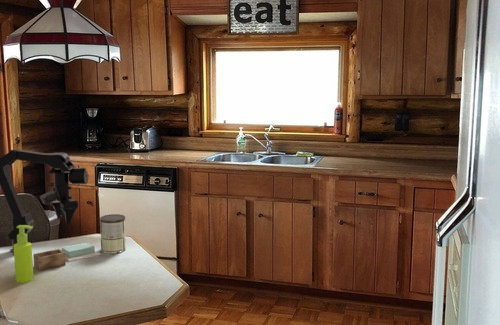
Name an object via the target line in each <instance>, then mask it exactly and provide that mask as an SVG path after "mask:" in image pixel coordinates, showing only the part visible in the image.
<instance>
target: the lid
mask: <svg viewBox="0 0 500 325" xmlns="http://www.w3.org/2000/svg"><path fill="white" fill-rule="evenodd" d="M61 250H62V251H63V252H65V254H66V255H67V256H69V258H72V257H77V256H81V255H86V254H91V253H95V251H96V250H95V246H94V245H93V244H91V243H89V242H82V243H78V244H73V245H68V246H67V245H66V246H62V247H61Z"/></svg>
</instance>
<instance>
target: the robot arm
mask: <svg viewBox="0 0 500 325" xmlns="http://www.w3.org/2000/svg"><path fill="white" fill-rule="evenodd" d="M70 159H71V158H70V155H68V153H66V152H52V153H50V152H49V153H47V152H39V151H34V150H32V151H31V150H24V149H19V148H13V149H10V150H9V152H7V153H6V154H5V155H3V156H1V157H0V188H1V191H2V193H3V195H4V197H5V200H6V204H7V206H8V209H9V210H10V213H11V216H12V217H11V218H12V220H11V221H12V222H11V223H12V228H13V229H12V230H10V232H9V233H8V234H7V236H8V239H9V240H10V241H11V242H12V248H11V249H9V251H10V252H11V253H13V254H14V244H16V243H17V235H18V234H19V228H17V226H19V225H29V226H32V227H33V228H34V225H35V223H34V222H35V220H34V218H33V216H32V212H28V213H27V212H26V210H24V207H23V205H22V203H21V200H20V198H19V195H18V192H17V190H16V187H15V184H14V182H13V181H12V168H11V166H12V165H13V164H14V163H15V162H16V161H18V160H19V161H25V162H31V163H39V164H44V165H46V166H49V167H51V169H50V170H49V171H48V174H51V175H52V174H53V180H54V181H53V182H54V184H53V185H54V186H52V188H51V191H47V192H45V193H44V194H41V195H39V198H40V200H41V202H42V204H44V205H45V206H48V205H51V206H52V207H53V209H54V213H55V214H56V217H57V220H61V219H62V215H63V213H64V219H65V224H67V225H68V224H70V223H71V221H72V218H73V217H74V214H75V212H76V210H77V209H78V208H79V206H80V205H79V201H78V200H76V199H74V198H72V195H70V190H71V189H72V186H70V184H71V185H88V183H89V178H90V177H89V173H88V171H87V167H76V166H75V165H74V163H73V162H72V160H70ZM33 228H31V229H27V228H24V232H25V234H27V236H28V235H29V234H30V232H31V231H32V230H33Z"/></svg>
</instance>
